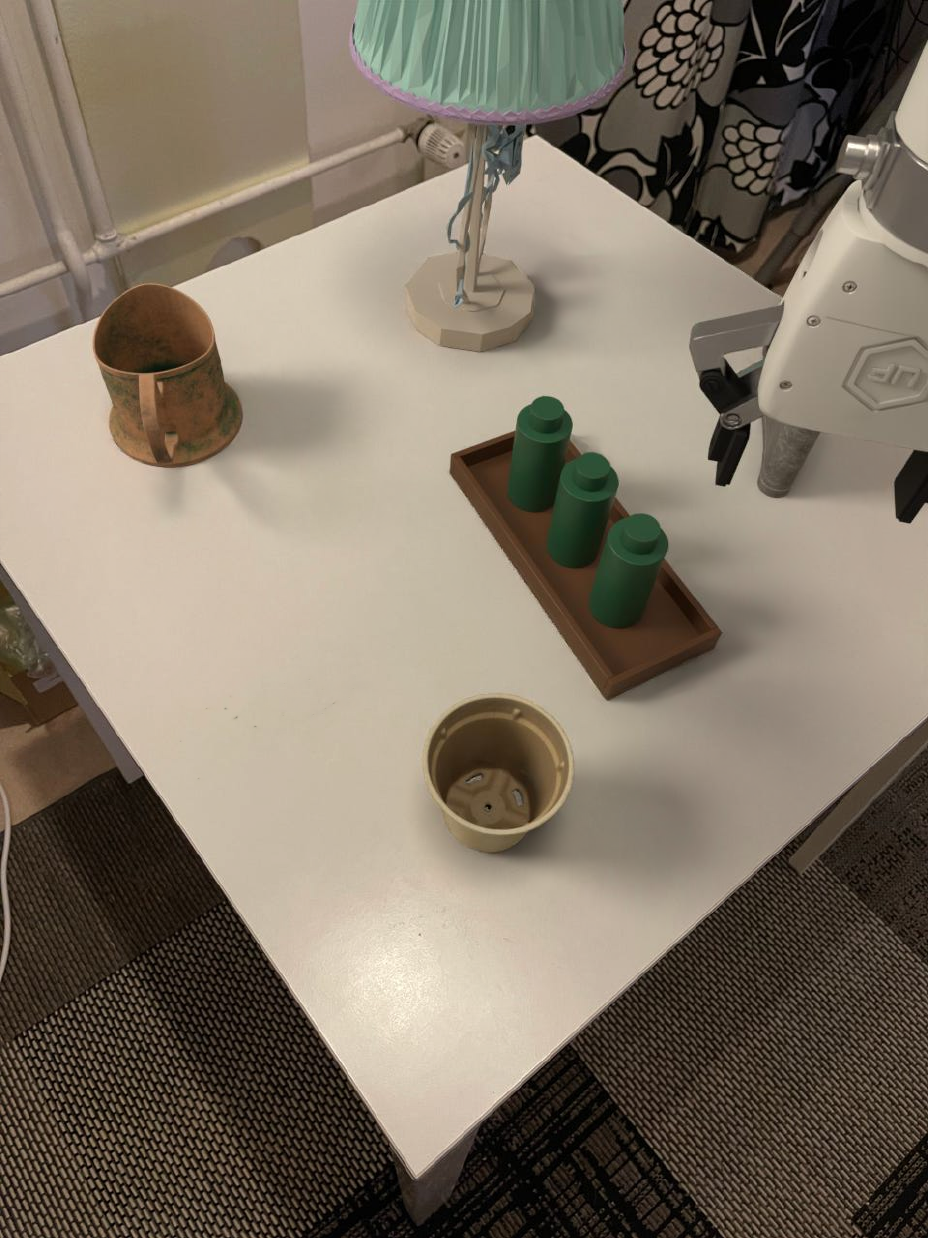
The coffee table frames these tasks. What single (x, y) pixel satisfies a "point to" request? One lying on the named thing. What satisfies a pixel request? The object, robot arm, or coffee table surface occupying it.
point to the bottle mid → (581, 510)
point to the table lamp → (486, 125)
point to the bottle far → (539, 454)
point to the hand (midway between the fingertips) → (811, 485)
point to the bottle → (627, 570)
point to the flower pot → (497, 769)
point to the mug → (164, 378)
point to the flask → (782, 455)
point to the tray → (583, 582)
